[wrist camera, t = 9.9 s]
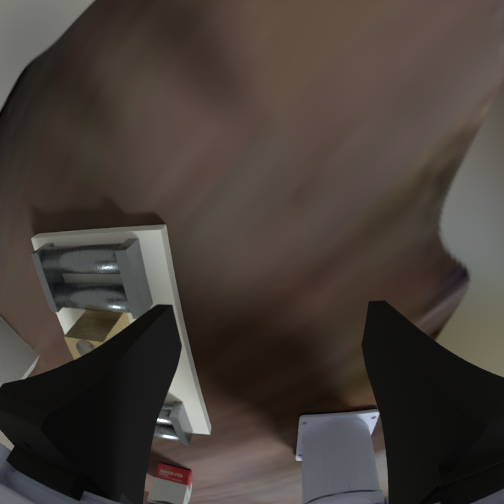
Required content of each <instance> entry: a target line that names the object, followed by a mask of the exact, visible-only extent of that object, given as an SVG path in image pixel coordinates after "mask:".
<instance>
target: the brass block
mask: <svg viewBox="0 0 504 504" xmlns="http://www.w3.org/2000/svg"><path fill="white" fill-rule="evenodd" d="M128 325H130V322H129V318H128V315H127V313H123V312H108V311H94V310H86V311H85V312H84V313H83V314H82V315H81V317H80V318H79V319H78V320H77V321H76V322H75V324H74V325H73V326H72V327H71V328H70V330H69V331H68V332H67V333H66V335H65V336H64V338H65V340H66V343H67V345H68V347H69V349H70V351H71V353H72V355H73V357H74V360H75V359H77V358H79V357H81V356H83V355H85V354H86V353H88V352H90V351H92V350H93V349H95V348H97V347H98V346H100V345H101V344H103V343H104V342H106V341H107V340H109V339H110V338H112V337H113V336H115V335H116V334H117V333H119V332H120V331H122V330H123V329H124V328H126V327H127V326H128Z"/></svg>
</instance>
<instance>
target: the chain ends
mask: <svg viewBox="0 0 504 504" xmlns="http://www.w3.org/2000/svg"><path fill="white" fill-rule="evenodd" d="M31 255H32V258H33V262H34V265H35V268H36V271H37V274H38V277H39V280H40V283H41V286H42V288H43V291H44V294H45V297H46V299H47V302H48V304H49V307H50V310H51V312H59V311H60V310H61V309H62V308H70V309H81V310H94V311H108V312H123V313H131V314H132V317H133V319H138V318H139V317H140V316H142V315H143V314H144V313H145V312H147V311H148V310H150V308H151V306H152V305H153V300H152V296H151V292H150V288H149V284H148V280H147V275H146V271H145V266H144V262H143V257H142V252H141V248H140V243H139V238H129V239H127V240H126V241H125V242H124V243H117V244H95V245H74V246H54V244H53V243H46V244H44V245H43V246H41V247H40V248H38V249H37V250H35V251H34V252H33V253H31ZM62 274H120V275H121V279H122V282H123V284H107V283H70V282H65V281H64V278H63V275H62ZM192 432H193V429H192V427H191V424H190V421H189V418H188V416H187V413H186V410H185V407H184V404H183V402H180V401H174V404H173V405H170V404H163V406H162V409H161V411H160V414H159V417H158V420H157V423H156V428H155V432H154V436H153V437H157V438H163V439H169V440H176V441H180V443H181V445H189V444H190V440H191V436H192Z"/></svg>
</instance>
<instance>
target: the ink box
mask: <svg viewBox="0 0 504 504" xmlns="http://www.w3.org/2000/svg"><path fill="white" fill-rule="evenodd" d="M191 490H192V471H191V470H186V469H182V468H178V467H174V466H170V465H166V464H162V463H159V465H158V468H157V471H156V474H155V477H154V480H153V483H152V486H151V490H150V493H149V495H148V498H147V502H146V504H188V503H189V499H190V495H191Z"/></svg>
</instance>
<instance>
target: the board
mask: <svg viewBox="0 0 504 504" xmlns="http://www.w3.org/2000/svg"><path fill="white" fill-rule="evenodd" d="M129 238H139V243H140V248H141V252H142V257H143V262H144V266H145V271H146V275H147V280H148V284H149V288H150V292H151V296H152V300H153V305H152V306H151V308H152V307H154V306H155V305H157V304H170V305H173V310H174V314H175V318H176V323H177V327H178V331H179V335H180V339H181V343H182V350H181V354H180V359H179V363H178V367H177V370H176V373H175V375H174V378H173V381H172V383H171V386H170V388H169V391H168V393H167V396H166V398H165V401H164V404H170V405H173V404H174V401H180V402H183V404H184V407H185V410H186V413H187V416H188V418H189V421H190V424H191V427H192V429H193V432H192V433H199V434H210V431H211V424H210V421H209V417H208V414H207V410H206V407H205V403H204V400H203V396H202V392H201V388H200V385H199V381H198V377H197V373H196V369H195V365H194V361H193V357H192V353H191V349H190V344H189V340H188V336H187V331H186V327H185V322H184V318H183V313H182V308H181V304H180V299H179V294H178V289H177V284H176V278H175V273H174V268H173V262H172V257H171V251H170V245H169V239H168V233H167V227H166V224H164V225H147V226H131V227H116V228H102V229H88V230H75V231H63V232H51V233H40V234H37V235H35V236H34V237H32V238H31V239H32V243H33V246H34V250H37V249H38V248H40V247H41V246H43V245H44V244H46V243H53V244H54V246H74V245H95V244H117V243H124V242H125V241H126V240H127V239H129ZM62 275H63V278H64V281H65V282H70V283H107V284H123V282H122V279H121V275H120V274H62ZM151 308H150V309H151ZM85 311H86V310H81V309H70V308H62V309H61V310H60V311H59V312H56V314H57V316H58V319H59V321H60V323H61V326H62V328H63V330H64V333H65V335H66V333H67V332H68V331H69V330H70V328H71V327H72V326H73V325H74V324H75V322H76V321H77V320H78V319H79V318H80V317H81V315H82V314H83V313H84V312H85ZM127 315H128V318H129V322H130V324H131V323H132V322H134V321H135V320H136V319H133V317H132V314H131V313H127Z"/></svg>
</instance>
